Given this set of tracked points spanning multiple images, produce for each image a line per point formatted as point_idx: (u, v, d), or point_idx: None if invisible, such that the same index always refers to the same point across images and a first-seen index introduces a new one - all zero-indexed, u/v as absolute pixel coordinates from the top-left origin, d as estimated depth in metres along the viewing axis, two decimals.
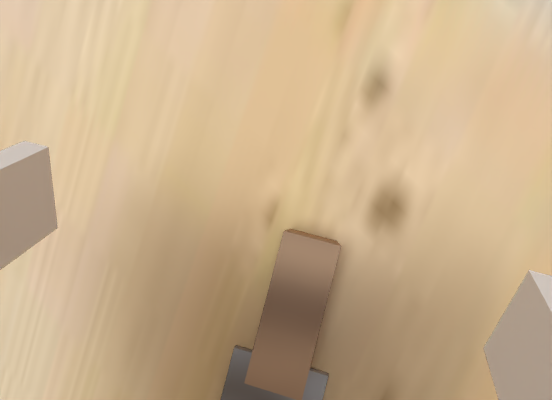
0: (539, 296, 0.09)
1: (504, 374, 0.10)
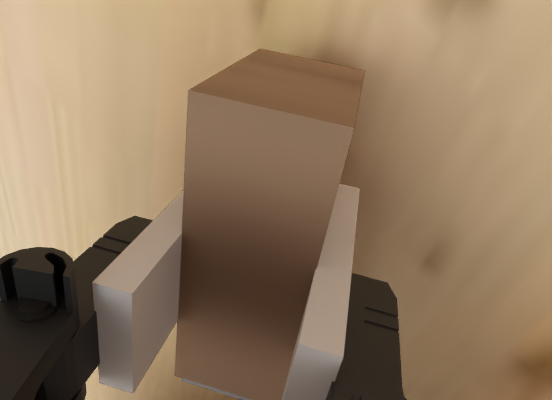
0: None
1: None
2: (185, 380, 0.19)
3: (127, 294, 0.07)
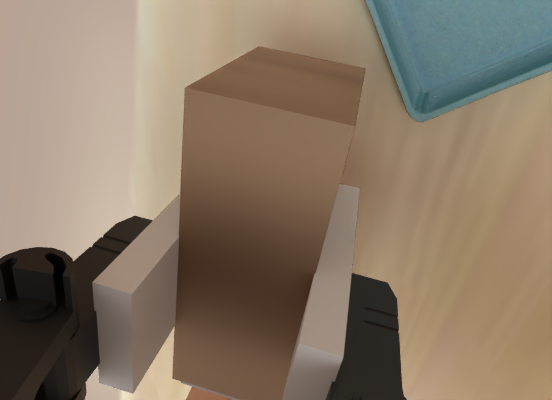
0: None
1: None
2: (184, 382, 0.19)
3: (127, 294, 0.07)
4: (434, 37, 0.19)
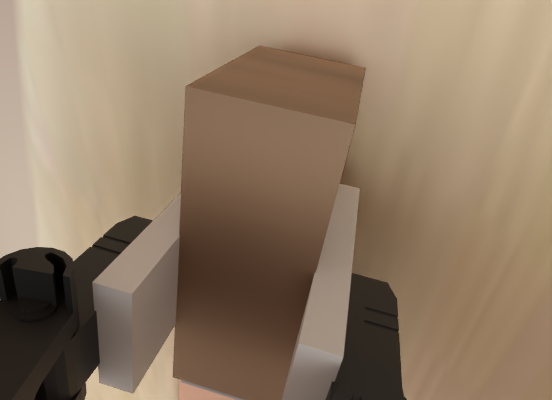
0: None
1: None
2: (184, 381, 0.19)
3: (127, 294, 0.07)
4: None
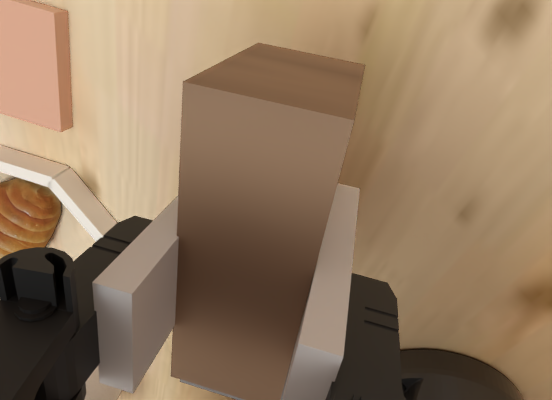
0: None
1: None
2: (183, 381, 0.19)
3: (127, 294, 0.07)
4: None
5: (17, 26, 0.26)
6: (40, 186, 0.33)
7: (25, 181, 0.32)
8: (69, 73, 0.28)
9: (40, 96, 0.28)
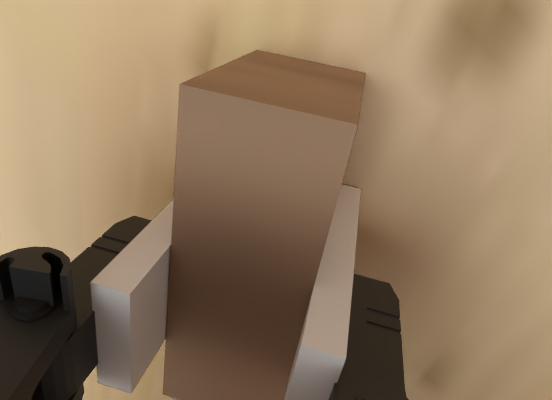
0: None
1: None
2: (175, 398, 0.18)
3: (125, 294, 0.07)
4: None
5: None
6: None
7: None
8: None
9: None
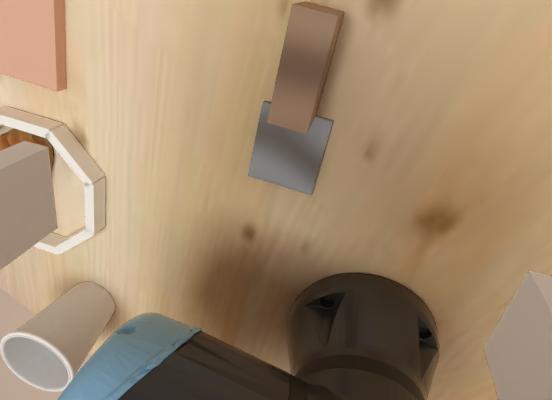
0: (539, 296, 0.09)
1: (504, 374, 0.10)
2: (249, 175, 0.37)
3: None
4: None
5: (25, 5, 0.34)
6: None
7: None
8: (64, 44, 0.36)
9: (41, 61, 0.36)
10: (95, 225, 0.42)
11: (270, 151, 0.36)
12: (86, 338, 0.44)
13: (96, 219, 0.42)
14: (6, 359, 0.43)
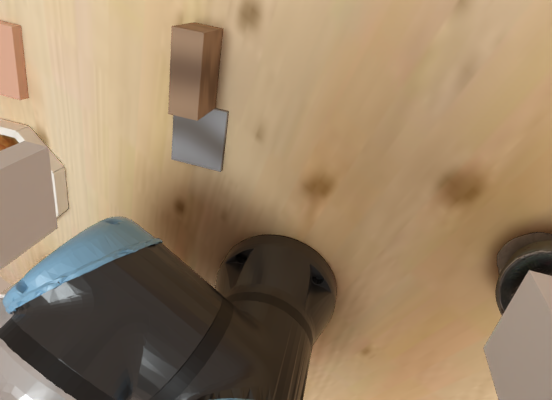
0: (539, 296, 0.09)
1: (504, 374, 0.10)
2: (172, 158, 0.47)
3: None
4: None
5: None
6: None
7: None
8: (24, 63, 0.46)
9: (6, 77, 0.46)
10: (59, 207, 0.53)
11: (185, 138, 0.46)
12: None
13: (59, 202, 0.52)
14: None
